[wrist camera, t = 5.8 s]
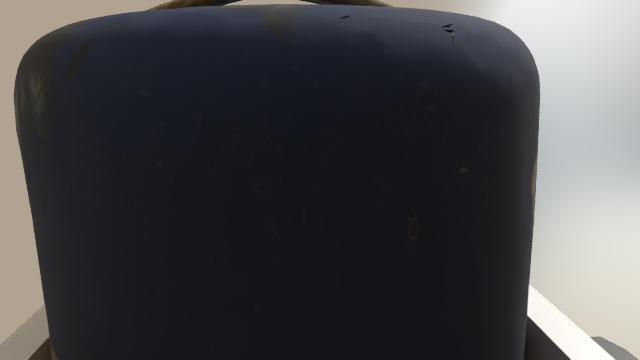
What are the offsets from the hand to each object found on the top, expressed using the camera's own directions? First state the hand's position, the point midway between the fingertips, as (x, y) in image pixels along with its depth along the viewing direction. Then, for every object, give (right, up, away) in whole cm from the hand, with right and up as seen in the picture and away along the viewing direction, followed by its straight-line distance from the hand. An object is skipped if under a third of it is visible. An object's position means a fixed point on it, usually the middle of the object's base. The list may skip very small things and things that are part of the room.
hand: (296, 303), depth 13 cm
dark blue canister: (0, -10, 0) cm, 11 cm away
